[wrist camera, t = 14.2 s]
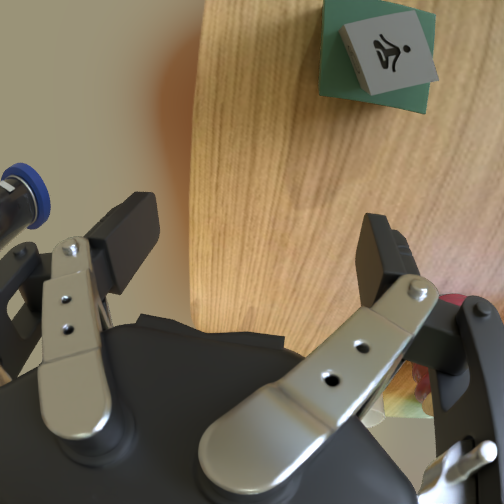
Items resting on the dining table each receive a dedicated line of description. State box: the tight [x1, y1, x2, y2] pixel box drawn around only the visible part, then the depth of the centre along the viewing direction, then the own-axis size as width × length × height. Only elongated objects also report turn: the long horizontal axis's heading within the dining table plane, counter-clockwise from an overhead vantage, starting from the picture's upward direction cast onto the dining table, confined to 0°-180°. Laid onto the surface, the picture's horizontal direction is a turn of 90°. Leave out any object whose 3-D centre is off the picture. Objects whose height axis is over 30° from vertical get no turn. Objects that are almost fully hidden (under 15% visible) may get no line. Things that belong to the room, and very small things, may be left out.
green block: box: [318, 0, 436, 114], centre depth 23 cm, size 9×9×8 cm
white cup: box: [361, 393, 385, 428], centre depth 50 cm, size 8×8×10 cm
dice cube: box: [338, 10, 439, 96], centre depth 18 cm, size 5×5×5 cm
